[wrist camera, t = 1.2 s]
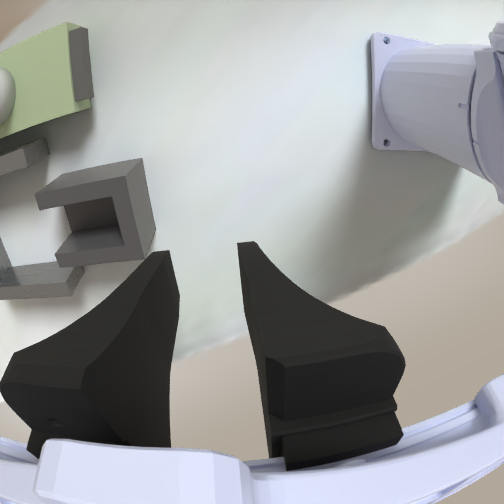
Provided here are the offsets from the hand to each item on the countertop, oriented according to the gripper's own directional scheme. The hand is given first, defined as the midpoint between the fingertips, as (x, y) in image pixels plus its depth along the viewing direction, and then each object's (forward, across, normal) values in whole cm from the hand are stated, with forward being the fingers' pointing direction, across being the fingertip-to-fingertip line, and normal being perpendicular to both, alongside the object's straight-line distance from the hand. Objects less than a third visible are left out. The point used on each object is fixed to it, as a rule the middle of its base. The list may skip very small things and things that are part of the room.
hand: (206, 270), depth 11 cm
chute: (+10, +7, 0) cm, 12 cm away
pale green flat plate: (+9, +12, -9) cm, 18 cm away
